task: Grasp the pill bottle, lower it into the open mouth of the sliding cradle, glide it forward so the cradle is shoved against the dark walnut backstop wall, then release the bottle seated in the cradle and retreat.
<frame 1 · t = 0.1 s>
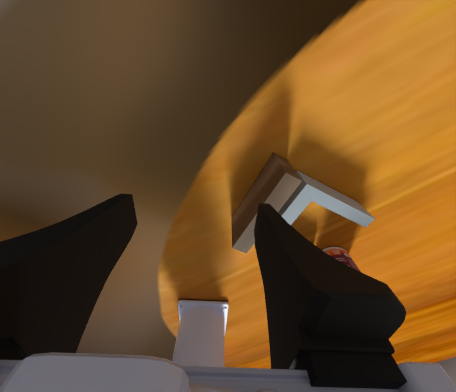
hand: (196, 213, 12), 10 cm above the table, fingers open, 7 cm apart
pill bottle: (328, 257, 28), on the table
backstop wall: (256, 190, 22), on the table
cradle: (307, 225, 23), point 2 cm above the table, slide at 0.0 cm
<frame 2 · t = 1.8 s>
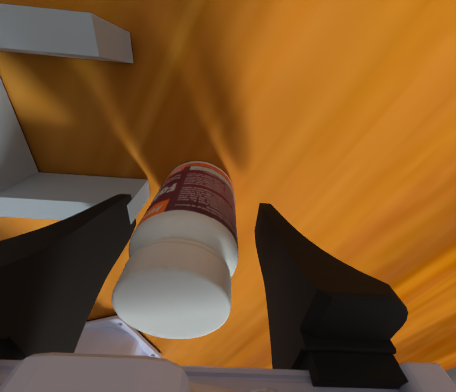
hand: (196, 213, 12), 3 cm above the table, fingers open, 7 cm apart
pill bottle: (200, 190, 14), on the table
cradle: (45, 129, 10), point 2 cm above the table, slide at 0.0 cm, touching gripper
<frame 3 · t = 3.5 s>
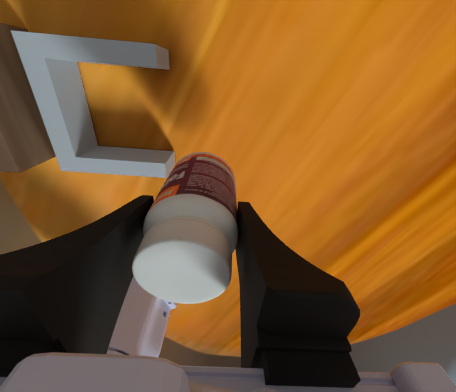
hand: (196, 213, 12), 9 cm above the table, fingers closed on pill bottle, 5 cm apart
pill bottle: (203, 180, 16), point 5 cm above the table, touching gripper
backstop wall: (40, 97, 17), on the table
cradle: (112, 113, 16), point 2 cm above the table, slide at 0.0 cm
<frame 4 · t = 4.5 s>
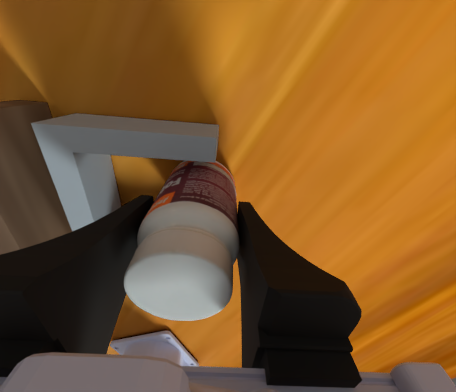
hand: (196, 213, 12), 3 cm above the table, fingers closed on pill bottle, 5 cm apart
pill bottle: (202, 186, 15), on the table, touching gripper
backstop wall: (58, 172, 14), on the table
cradle: (148, 196, 13), point 2 cm above the table, slide at 0.0 cm
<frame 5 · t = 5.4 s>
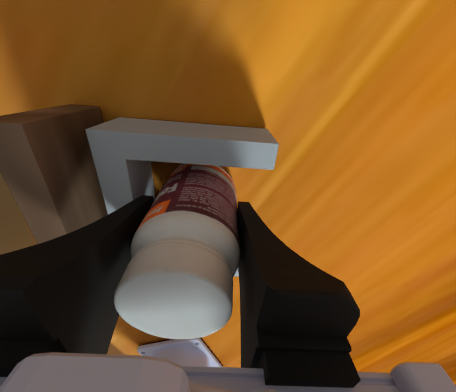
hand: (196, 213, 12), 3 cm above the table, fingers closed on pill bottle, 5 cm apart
pill bottle: (201, 190, 14), on the table, touching gripper
backstop wall: (103, 178, 14), on the table
cradle: (191, 203, 13), point 2 cm above the table, slide at 0.5 cm, touching gripper
when the fingers open (3 cm above the table, at t = 7.0 s): pill bottle stays where it is, on the table.
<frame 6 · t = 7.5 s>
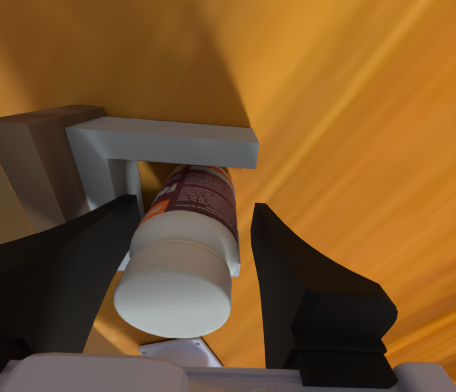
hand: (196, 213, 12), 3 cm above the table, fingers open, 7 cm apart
pill bottle: (201, 190, 14), on the table
backstop wall: (106, 178, 14), on the table
cradle: (176, 202, 13), point 2 cm above the table, slide at 1.6 cm, touching backstop wall, gripper
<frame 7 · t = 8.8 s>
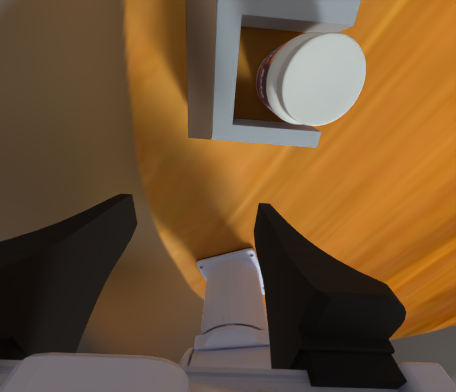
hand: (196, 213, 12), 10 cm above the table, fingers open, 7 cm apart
pill bottle: (282, 81, 17), on the table
backstop wall: (207, 67, 17), on the table
cradle: (271, 79, 16), point 2 cm above the table, slide at 1.6 cm, touching backstop wall
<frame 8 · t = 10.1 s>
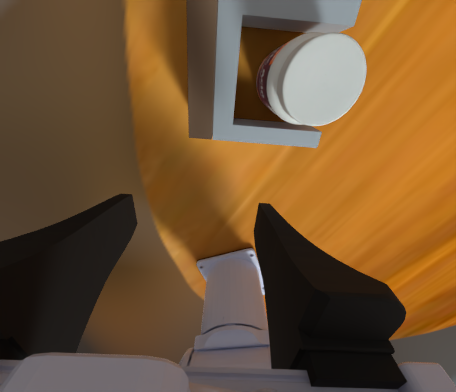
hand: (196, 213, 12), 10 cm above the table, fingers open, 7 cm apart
pill bottle: (282, 81, 17), on the table
backstop wall: (208, 67, 17), on the table
cradle: (272, 79, 16), point 2 cm above the table, slide at 1.6 cm, touching backstop wall
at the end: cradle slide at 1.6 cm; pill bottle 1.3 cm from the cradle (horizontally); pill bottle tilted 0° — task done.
